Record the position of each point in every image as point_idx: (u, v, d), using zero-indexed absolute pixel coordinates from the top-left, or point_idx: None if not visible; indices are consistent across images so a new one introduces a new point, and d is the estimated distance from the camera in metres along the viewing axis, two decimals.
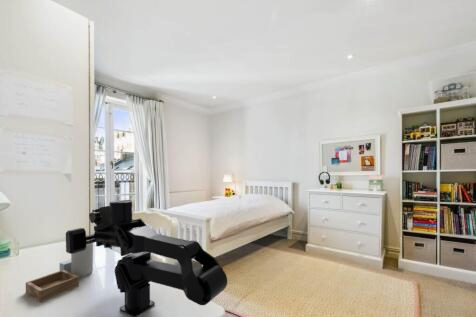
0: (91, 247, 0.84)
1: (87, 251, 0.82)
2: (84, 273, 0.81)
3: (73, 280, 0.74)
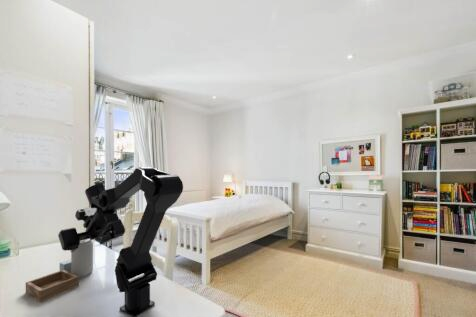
0: (91, 247, 0.84)
1: (87, 251, 0.82)
2: (84, 273, 0.81)
3: (73, 280, 0.74)
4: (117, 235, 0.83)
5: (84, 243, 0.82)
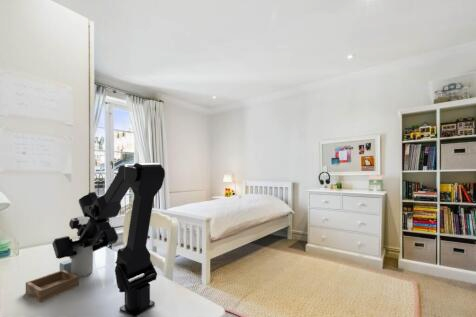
0: (91, 247, 0.84)
1: (87, 251, 0.82)
2: (84, 273, 0.81)
3: (73, 280, 0.74)
4: (110, 242, 0.85)
5: None
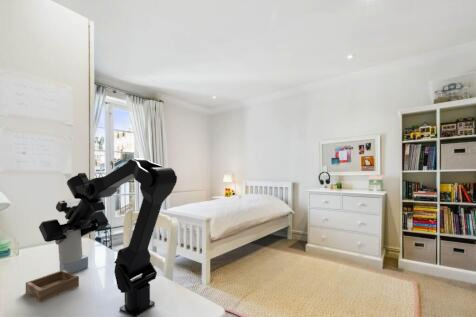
0: (79, 232, 0.80)
1: (76, 237, 0.78)
2: (75, 259, 0.78)
3: (73, 280, 0.74)
4: (100, 226, 0.82)
5: None
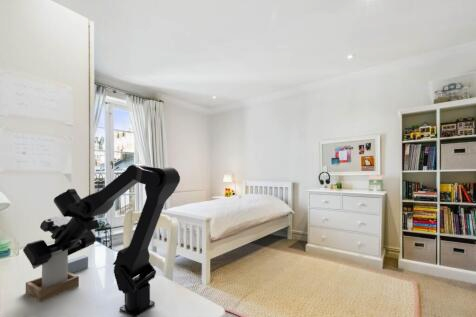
0: (67, 254, 0.76)
1: (63, 259, 0.74)
2: None
3: (73, 280, 0.74)
4: (88, 244, 0.78)
5: (60, 250, 0.73)
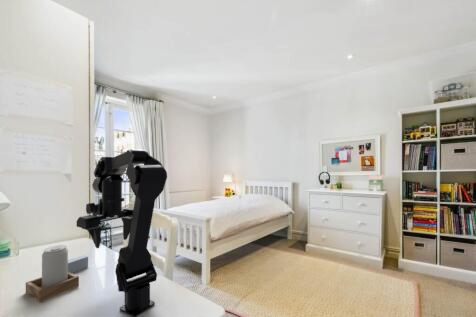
0: (67, 255, 0.75)
1: (63, 260, 0.74)
2: None
3: (73, 280, 0.74)
4: None
5: (60, 251, 0.73)
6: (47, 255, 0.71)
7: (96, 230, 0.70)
